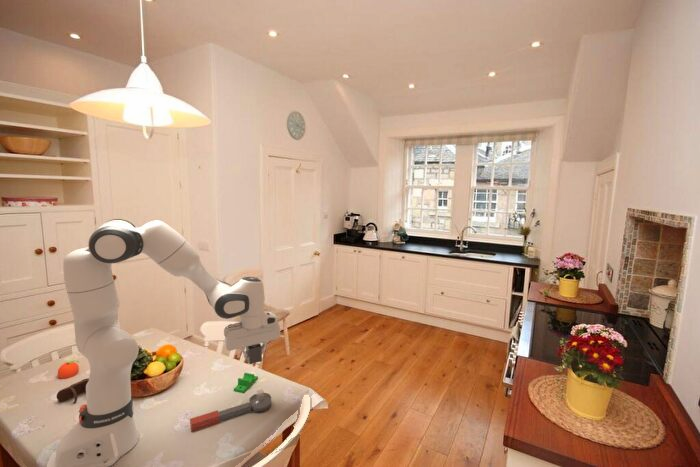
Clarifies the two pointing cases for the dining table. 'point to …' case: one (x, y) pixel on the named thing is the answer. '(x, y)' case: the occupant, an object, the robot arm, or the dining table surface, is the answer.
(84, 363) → the dining table surface
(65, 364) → the orange tomato
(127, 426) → the robot arm
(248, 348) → the socket
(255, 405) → the ratchet
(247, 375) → the pipe clamp
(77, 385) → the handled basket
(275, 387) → the dining table surface
